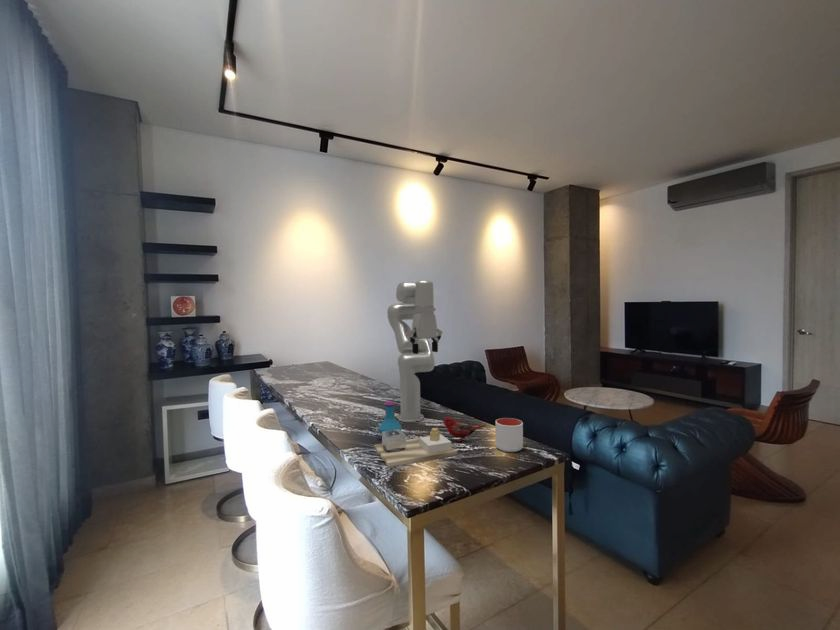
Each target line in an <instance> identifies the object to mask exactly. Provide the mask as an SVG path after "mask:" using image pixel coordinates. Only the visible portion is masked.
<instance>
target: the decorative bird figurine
mask: <svg viewBox="0 0 840 630" xmlns="http://www.w3.org/2000/svg"><path fill="white" fill-rule="evenodd" d="M442 424H444V426H445V427H446V431H447V432H448V433H449V434H450V435H451V436H452V437H455V438H458V439H455V442H456V443H459V442H464V441H466V439H465V438H467V437H469V436H470V435H473V433H474V432H476V431H477V430H479V429H482V428H484V427H486V426H487V424H483V425H478V426H472V425H470V424H467V423H464V422H463V423H462V422H459V421H456V419H455V418H453V417H449V416H447V417H445V419H444V420H443V422H442Z"/></svg>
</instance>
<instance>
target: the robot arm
mask: <svg viewBox="0 0 840 630" xmlns="http://www.w3.org/2000/svg"><path fill="white" fill-rule="evenodd" d="M395 297H396V300H397V301H398V302H399V303H393V304H391V305H389V306H388V308H387V310H386V311H387V319H388V323H389V326H391V330H393V332H394V338H395V341H396V346H397V349H398V352H399V353H400V355H399V356H398V358H397V365H398V372H399V373H398V374H399V382H400V383H399V391H400V392H399V394H400V399H399V400H400V414H398V415H397V418H396V420H397V421H398V422H403V423H417V422H416V421H418V422H421V421H423V420H424V419H425V418H424V417H425V416H424V414H422V413H421V382H420V381H421V380H420V379H419V377H418V376H417V375H416V373H428V372H431V371H433V370H434V368H435V366H436V363H435V358H434V353H438V352H439V351H438V349H439V342H440V340H441V338H442V335H443V331H442V330H441V329H439V328H438V326H437V325H438V324H437V318H436V314H435V312H436V307H434V306H435V305H434V304H435V301H434V300H435V299H434V283H433V281H431V280H417V281H402V282H400V283H398V284H397V285H396V293H395ZM404 320H406V321H407V320H409V321H410V320H412V323H411V324H412V325H411V327H410V326H409V325H408V324H407V323H406V322H405V321H404ZM429 339H430V340H431V343H430V340H429Z"/></svg>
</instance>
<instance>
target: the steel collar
mask: <svg viewBox="0 0 840 630" xmlns="http://www.w3.org/2000/svg"><path fill="white" fill-rule="evenodd" d="M392 431H396V432H397V435H391V436H390V432H392ZM406 436H407V435H406V433H404V432H403V431H402V429H401V430H400V429H397V430H390V431H383V432H382V436H381V444H383V445H384V446H385V448H386V449H387V450H391V449H397V448H404V447H406V440H407V438H406Z"/></svg>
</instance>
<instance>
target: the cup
mask: <svg viewBox="0 0 840 630" xmlns="http://www.w3.org/2000/svg"><path fill="white" fill-rule="evenodd" d="M523 427H524V423H523V421H522V420H520V419H517V418H511V417H501V418H498V419H495V446H496V448H497V449H498V450H500V451H503V452H507V453H516V452H519V451H521V450H523V447H524V428H523Z"/></svg>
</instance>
